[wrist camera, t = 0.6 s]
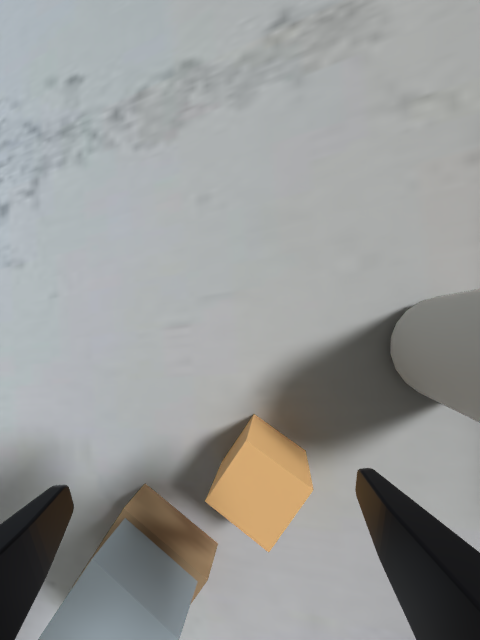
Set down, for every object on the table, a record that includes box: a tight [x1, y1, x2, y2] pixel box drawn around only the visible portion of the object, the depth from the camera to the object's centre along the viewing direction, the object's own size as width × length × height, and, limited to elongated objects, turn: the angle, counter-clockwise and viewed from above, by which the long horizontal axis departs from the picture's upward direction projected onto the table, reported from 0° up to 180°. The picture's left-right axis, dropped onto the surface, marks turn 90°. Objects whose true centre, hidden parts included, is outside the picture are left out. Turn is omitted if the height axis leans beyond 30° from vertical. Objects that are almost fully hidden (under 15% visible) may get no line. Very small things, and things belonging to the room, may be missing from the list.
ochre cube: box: [205, 414, 313, 552], centre depth 19 cm, size 5×5×5 cm
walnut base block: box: [72, 484, 218, 605], centre depth 21 cm, size 8×8×4 cm
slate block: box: [38, 518, 198, 640], centre depth 18 cm, size 7×7×4 cm
